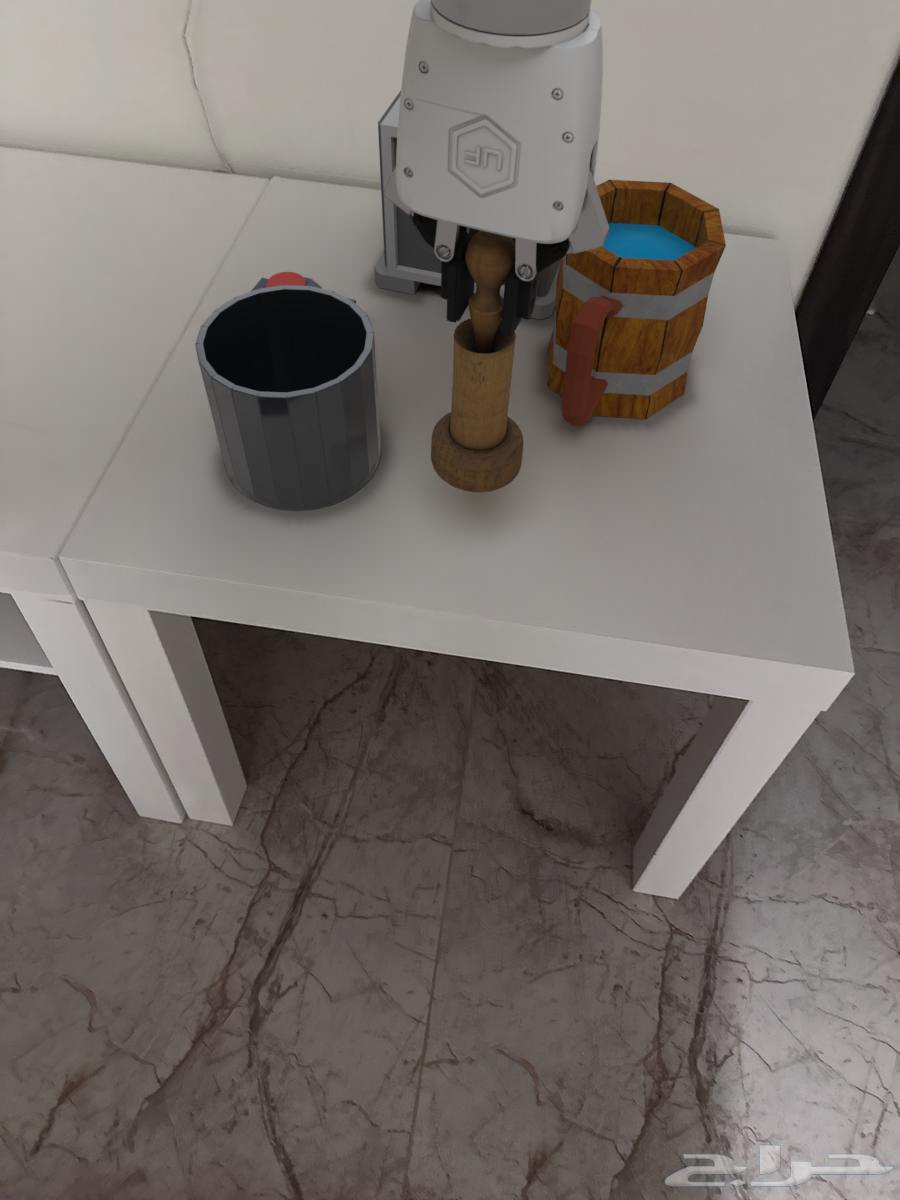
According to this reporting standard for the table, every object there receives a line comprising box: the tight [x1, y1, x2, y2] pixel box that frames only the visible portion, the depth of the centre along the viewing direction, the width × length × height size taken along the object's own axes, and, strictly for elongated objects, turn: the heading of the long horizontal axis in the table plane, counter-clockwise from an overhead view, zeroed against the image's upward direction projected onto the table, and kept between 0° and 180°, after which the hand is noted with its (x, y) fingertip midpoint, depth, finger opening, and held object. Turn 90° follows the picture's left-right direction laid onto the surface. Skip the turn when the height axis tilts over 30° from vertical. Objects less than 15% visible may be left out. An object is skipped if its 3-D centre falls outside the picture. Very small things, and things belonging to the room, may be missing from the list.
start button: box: [266, 271, 306, 287], centre depth 85 cm, size 4×4×2 cm
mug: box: [546, 179, 727, 427], centre depth 78 cm, size 20×14×15 cm
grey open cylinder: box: [194, 285, 382, 511], centre depth 74 cm, size 13×13×12 cm
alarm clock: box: [374, 90, 562, 320], centre depth 88 cm, size 18×13×18 cm
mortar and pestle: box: [430, 231, 524, 493], centre depth 60 cm, size 7×6×18 cm
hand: (486, 313), depth 57 cm, fingers closed on mortar and pestle, 2 cm apart
